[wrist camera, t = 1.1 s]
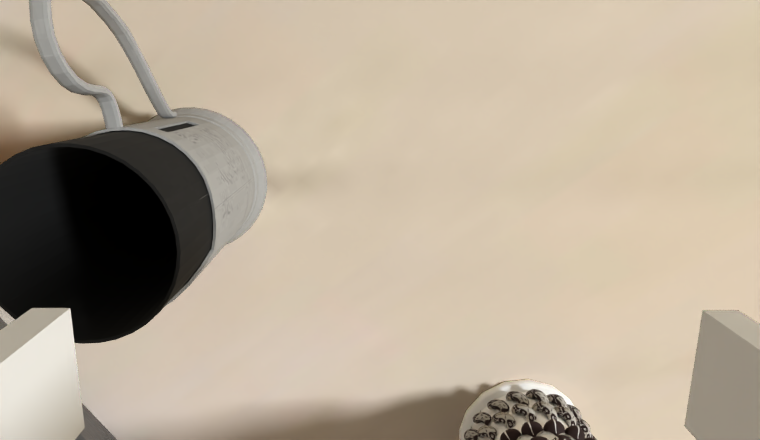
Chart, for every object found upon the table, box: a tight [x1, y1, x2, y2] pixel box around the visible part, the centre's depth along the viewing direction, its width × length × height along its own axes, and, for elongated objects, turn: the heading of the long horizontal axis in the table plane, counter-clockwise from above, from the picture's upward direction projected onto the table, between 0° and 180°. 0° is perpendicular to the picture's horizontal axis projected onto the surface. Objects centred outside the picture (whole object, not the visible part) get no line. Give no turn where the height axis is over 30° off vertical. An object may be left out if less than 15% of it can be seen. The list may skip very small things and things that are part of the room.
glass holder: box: [0, 0, 267, 343], centre depth 28 cm, size 9×14×15 cm, turn 7°
